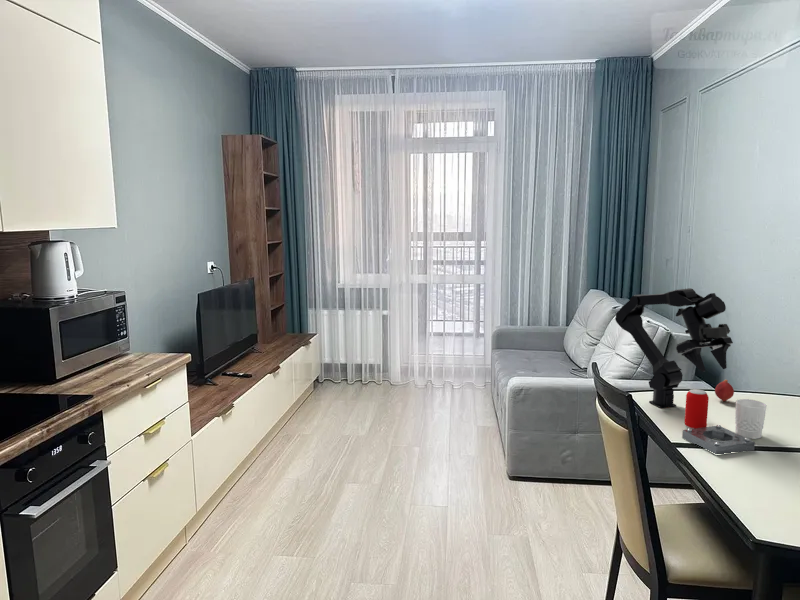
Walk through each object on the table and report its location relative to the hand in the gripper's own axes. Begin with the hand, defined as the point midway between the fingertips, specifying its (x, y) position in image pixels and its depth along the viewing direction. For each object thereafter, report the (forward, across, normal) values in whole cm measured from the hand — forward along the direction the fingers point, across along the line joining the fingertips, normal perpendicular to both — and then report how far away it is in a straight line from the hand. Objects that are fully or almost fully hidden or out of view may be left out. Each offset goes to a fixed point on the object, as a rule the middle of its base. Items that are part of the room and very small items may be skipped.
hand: (714, 370), depth 178 cm
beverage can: (+16, -8, +8) cm, 20 cm away
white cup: (+21, +2, -1) cm, 21 cm away
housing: (+22, -12, -2) cm, 25 cm away
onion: (+8, +22, +20) cm, 31 cm away
